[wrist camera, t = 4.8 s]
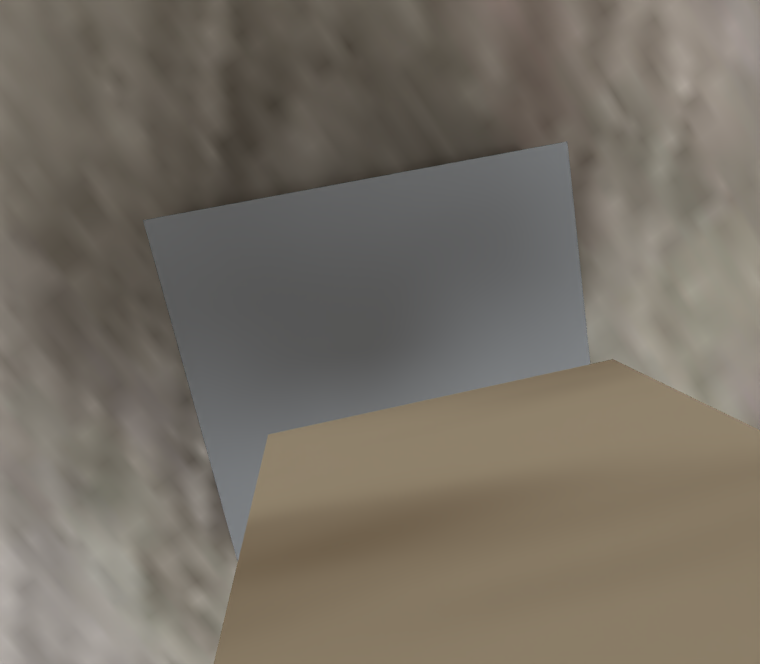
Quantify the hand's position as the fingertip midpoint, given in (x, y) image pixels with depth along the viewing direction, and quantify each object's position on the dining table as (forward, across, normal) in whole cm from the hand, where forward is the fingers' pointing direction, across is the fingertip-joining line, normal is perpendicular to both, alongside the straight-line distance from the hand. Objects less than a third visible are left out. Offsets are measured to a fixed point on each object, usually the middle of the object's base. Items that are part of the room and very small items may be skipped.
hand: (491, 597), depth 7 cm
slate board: (+12, 0, 0) cm, 12 cm away
